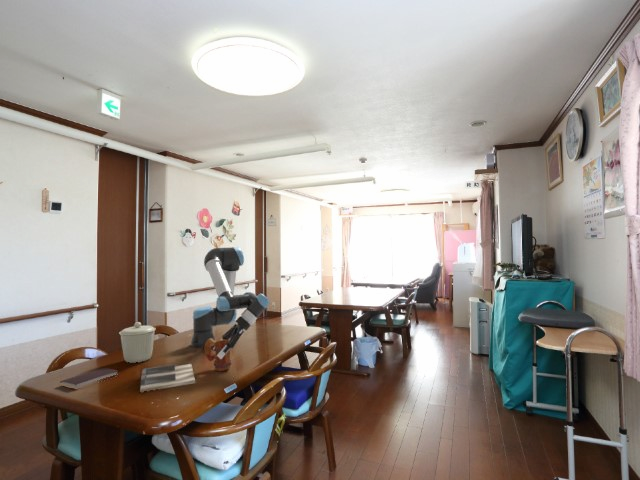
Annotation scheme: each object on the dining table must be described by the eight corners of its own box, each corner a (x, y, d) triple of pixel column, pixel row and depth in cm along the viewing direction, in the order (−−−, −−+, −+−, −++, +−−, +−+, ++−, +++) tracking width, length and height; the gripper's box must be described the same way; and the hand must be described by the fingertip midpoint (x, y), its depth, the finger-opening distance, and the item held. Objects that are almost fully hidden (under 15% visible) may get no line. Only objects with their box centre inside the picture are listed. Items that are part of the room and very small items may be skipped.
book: (59, 387, 158) (59, 380, 158) (102, 373, 175) (102, 366, 175) (76, 391, 152) (75, 384, 152) (118, 376, 169) (118, 369, 170)
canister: (143, 353, 205) (143, 317, 206) (163, 357, 196) (162, 320, 197) (112, 362, 190) (111, 324, 190) (132, 367, 181) (131, 326, 181)
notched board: (143, 373, 171) (143, 365, 171) (191, 366, 180) (191, 358, 180) (140, 392, 147) (140, 383, 147) (195, 383, 156) (194, 374, 156)
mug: (235, 367, 175) (234, 337, 176) (226, 373, 168) (225, 341, 168) (211, 365, 180) (210, 336, 180) (200, 370, 172) (200, 340, 173)
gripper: (257, 329, 170) (226, 365, 163) (246, 320, 192) (218, 352, 186) (245, 319, 168) (214, 355, 161) (236, 312, 190) (208, 343, 184)
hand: (216, 353), depth 173 cm, fingers open, 13 cm apart
